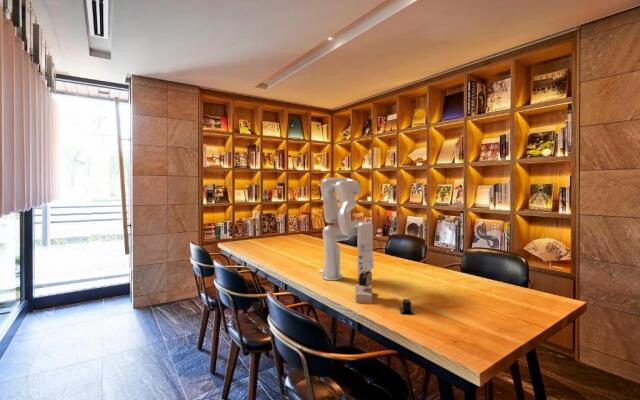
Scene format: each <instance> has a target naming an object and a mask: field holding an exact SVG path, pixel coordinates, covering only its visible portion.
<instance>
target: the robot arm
mask: <svg viewBox="0 0 640 400" xmlns="http://www.w3.org/2000/svg"><path fill="white" fill-rule="evenodd" d="M360 192H361V185H360V183H359V182H358V181H357V180H355V179H352V178H349V177H326V178H323V179H322V181H321V183H320V193H321V197H322V201H323V218H324V221H325V222H326V223H328V224H330V225H326V226H325V227H323V229H322V239H323V250H324V251H323V252H324V255H323V256H324V259H323V260H324V261H323V262H324V269H323V268H320V269H319V273H320V274H322V275H321V278H322V279H323V280H325V281H340V280H342V279H343V278H344V275H343V274H341V247H340V246H339V244H338V243H337V242H342V241H348V240H350V238H351V236H356V237H357V239H356V241H357V245H356V248H357V259H356V261H357V262H356V263H357V264H356V266H357V267H356V269H357V274H359V284H360V285H363V286H365V285H366V277H365V273H366V272H372V270H373V269H374V263H375V262H374V252H373V250H374V249H373V248H374V247H373V243H374V242H373V240H374V239H373V238H374V237H373V233H374V232H373V226H374V225H373V223H371V222H368V221H366V220H364V219H363V220H361V219H359V220H351V217H352V216H351V213H350V211H352V210H353V209H354V208H355V207H356V205H357V201H356V198H355V196H358V195H359V194H360ZM334 193H336V195H335V194H334ZM338 203H339V204H338ZM339 205H340V206H339ZM335 223H336V224H335ZM333 224H334V225H333ZM362 272H364V273H362Z"/></svg>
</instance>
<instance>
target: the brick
mask: <svg viewBox="0 0 640 400" xmlns="http://www.w3.org/2000/svg"><path fill="white" fill-rule="evenodd" d="M354 291H355V292H354V295H355V297H354V299H355V300H354V301H355V303H357V304H360V303H361V304H372V303H373V298H374V297H373V287H372V284H371V285H370V286H368V287H365V286H360V285H358V283H356V284H355V290H354Z"/></svg>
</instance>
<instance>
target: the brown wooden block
mask: <svg viewBox="0 0 640 400" xmlns="http://www.w3.org/2000/svg"><path fill="white" fill-rule="evenodd" d="M362 273H364V272H362ZM372 273H373V272H372V271H371V272H366V273H365V277H366V285H365V287H368V286H370V285H372V284H373V274H372ZM357 274H358V273H357ZM357 280H358V281H357V282H358V283H357V284H358V285H360V284H359V274H358V278H357ZM360 286H363V285H360Z"/></svg>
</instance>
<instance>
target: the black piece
mask: <svg viewBox="0 0 640 400" xmlns="http://www.w3.org/2000/svg"><path fill="white" fill-rule="evenodd" d="M398 307H399V313H400V315H401V316H402V315H403V316H405V315H406V316H416V313H415V310H414V307H413V306H412V301H411V299H410V298H409V299H408V298H403V299H402V305H398Z"/></svg>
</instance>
